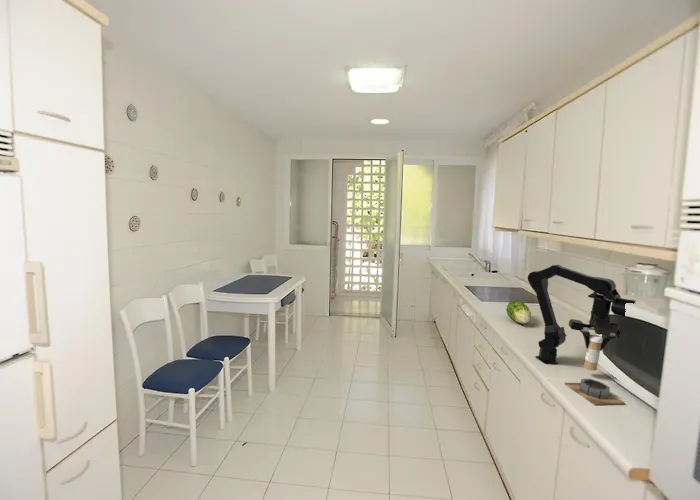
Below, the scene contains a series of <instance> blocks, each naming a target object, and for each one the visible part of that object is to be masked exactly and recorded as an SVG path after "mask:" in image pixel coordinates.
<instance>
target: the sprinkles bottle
mask: <svg viewBox="0 0 700 500" xmlns="http://www.w3.org/2000/svg"><path fill="white" fill-rule="evenodd" d="M602 340H603V338H602V335H599V334H591V333H590V336H589V346H588V348H586V352H585V357H584V364H583V368H584V369H587V370H589V371H593V372H594V371H597V369H598V363H599V359H600V354H601V351H600V348H601V344H602Z"/></svg>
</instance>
